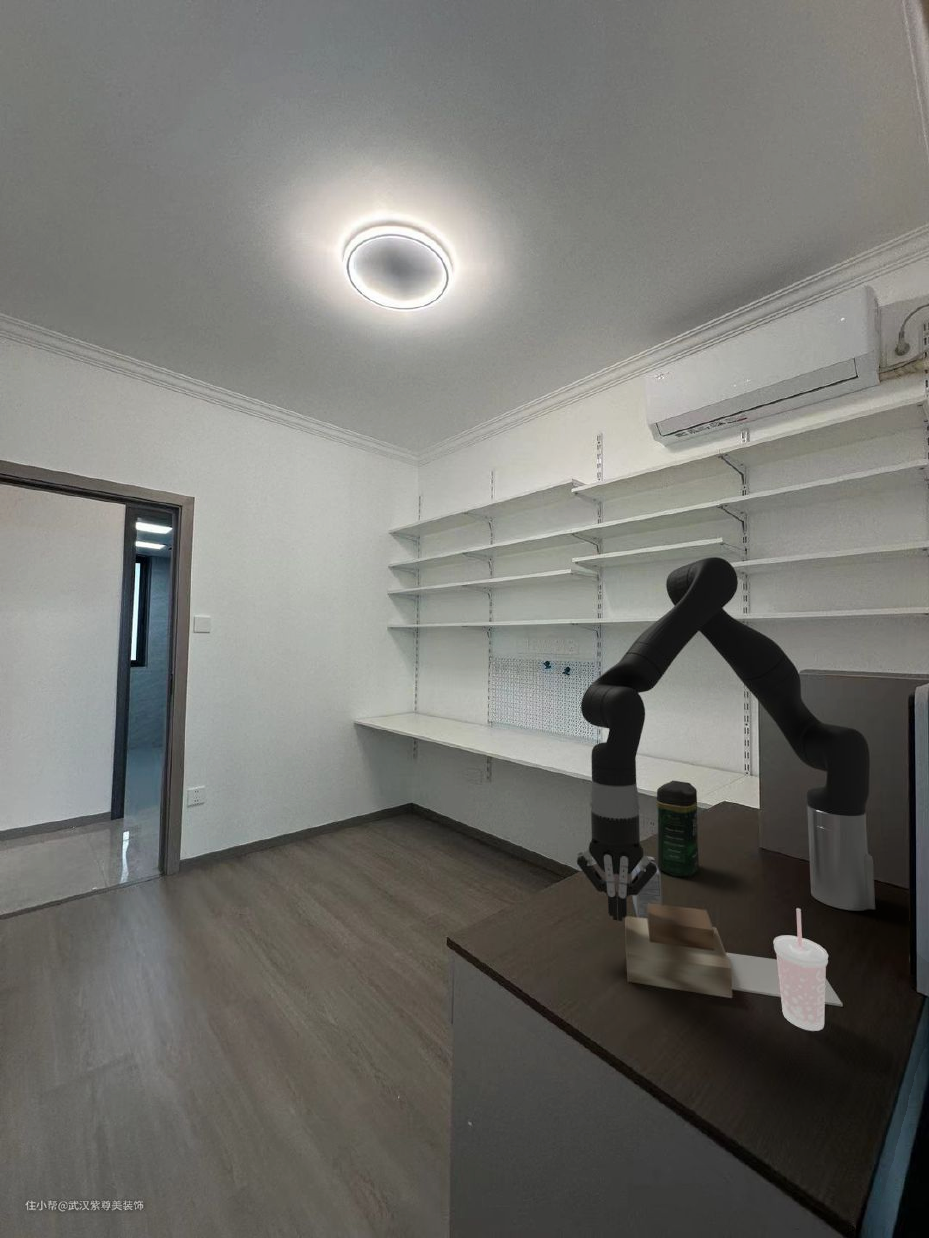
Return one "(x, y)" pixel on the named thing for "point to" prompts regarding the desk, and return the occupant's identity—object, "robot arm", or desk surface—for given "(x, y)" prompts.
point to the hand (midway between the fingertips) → (617, 918)
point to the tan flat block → (675, 963)
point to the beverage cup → (801, 979)
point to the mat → (764, 977)
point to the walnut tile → (680, 926)
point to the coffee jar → (677, 828)
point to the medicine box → (647, 892)
